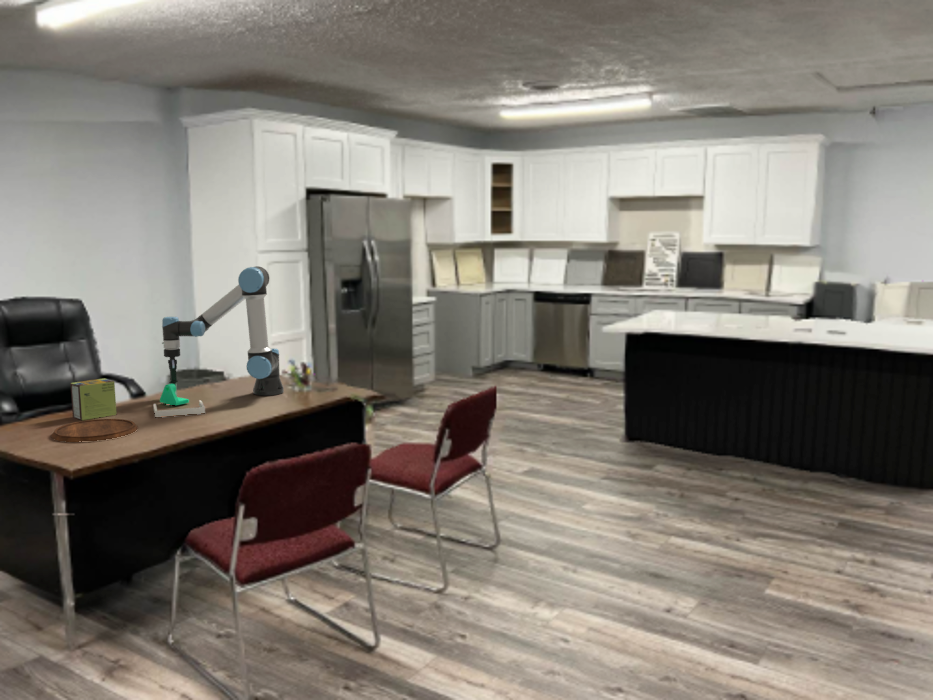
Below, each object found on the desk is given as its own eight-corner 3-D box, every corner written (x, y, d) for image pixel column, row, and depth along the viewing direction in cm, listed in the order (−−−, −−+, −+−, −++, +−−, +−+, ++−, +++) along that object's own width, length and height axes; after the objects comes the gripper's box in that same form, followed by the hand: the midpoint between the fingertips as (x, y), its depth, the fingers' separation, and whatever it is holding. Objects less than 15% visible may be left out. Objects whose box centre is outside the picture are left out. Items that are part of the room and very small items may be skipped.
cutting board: (134, 420, 340) (134, 415, 339) (141, 438, 312) (140, 431, 311) (52, 428, 325) (51, 423, 325) (50, 447, 297) (50, 441, 297)
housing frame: (201, 406, 367) (201, 400, 366) (205, 413, 352) (204, 407, 351) (153, 410, 358) (153, 403, 358) (155, 418, 343) (154, 411, 343)
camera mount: (190, 404, 371) (188, 383, 370) (176, 407, 365) (175, 386, 363) (173, 401, 378) (172, 380, 376) (160, 404, 371) (158, 383, 370)
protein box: (117, 414, 349) (115, 381, 347) (81, 420, 338) (79, 385, 335) (107, 411, 356) (104, 378, 354) (72, 417, 345) (69, 382, 342)
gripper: (162, 347, 384) (165, 393, 388) (164, 350, 373) (166, 398, 376) (179, 346, 387) (181, 392, 391) (180, 349, 376) (183, 397, 379)
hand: (174, 395), depth 384 cm, fingers closed
